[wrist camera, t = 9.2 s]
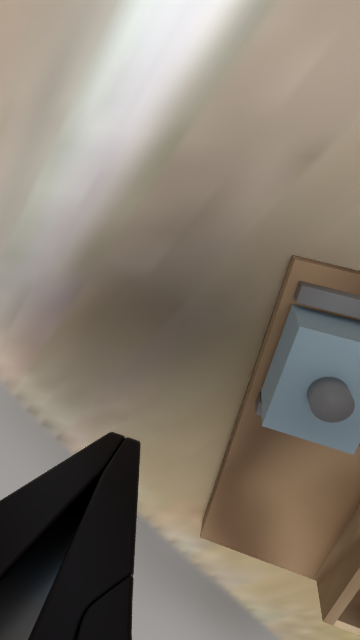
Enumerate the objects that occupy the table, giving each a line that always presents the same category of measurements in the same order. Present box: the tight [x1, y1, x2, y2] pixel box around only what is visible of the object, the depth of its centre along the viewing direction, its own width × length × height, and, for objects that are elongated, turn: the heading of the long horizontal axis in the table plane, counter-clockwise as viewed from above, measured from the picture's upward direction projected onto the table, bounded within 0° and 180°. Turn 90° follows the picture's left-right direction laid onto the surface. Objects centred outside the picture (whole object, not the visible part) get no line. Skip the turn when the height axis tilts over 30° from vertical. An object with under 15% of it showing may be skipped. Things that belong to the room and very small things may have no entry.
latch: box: [261, 304, 360, 455], centre depth 14 cm, size 4×5×4 cm
